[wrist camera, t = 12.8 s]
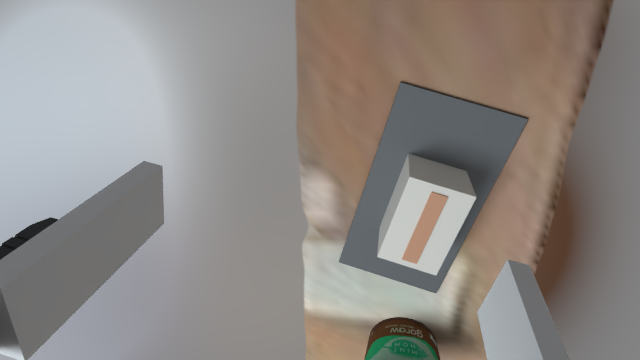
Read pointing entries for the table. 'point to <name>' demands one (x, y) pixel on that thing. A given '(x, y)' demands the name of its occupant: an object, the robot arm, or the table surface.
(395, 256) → the white rectangular block
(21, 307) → the robot arm
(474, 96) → the table surface
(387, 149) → the mat
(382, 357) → the food container
